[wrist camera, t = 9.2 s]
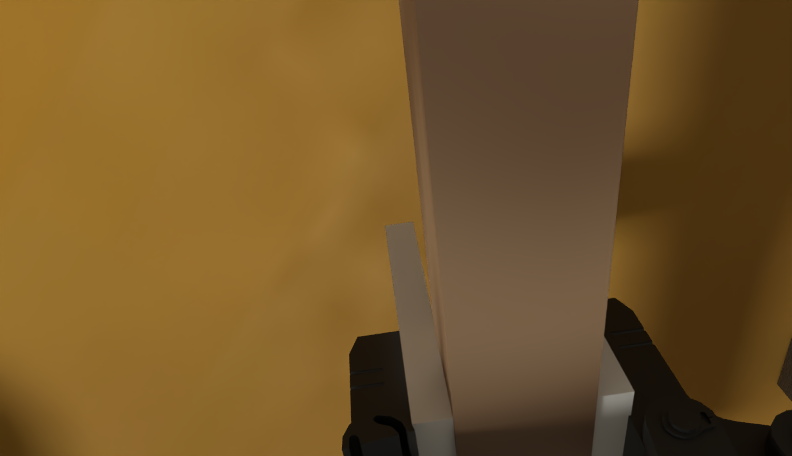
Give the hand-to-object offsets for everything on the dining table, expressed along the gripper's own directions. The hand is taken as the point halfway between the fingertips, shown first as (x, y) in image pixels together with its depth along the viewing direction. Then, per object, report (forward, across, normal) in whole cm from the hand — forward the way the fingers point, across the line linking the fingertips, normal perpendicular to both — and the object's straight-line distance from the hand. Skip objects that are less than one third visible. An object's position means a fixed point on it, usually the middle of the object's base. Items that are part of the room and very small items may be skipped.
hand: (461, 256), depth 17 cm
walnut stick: (-4, 0, 0) cm, 4 cm away
